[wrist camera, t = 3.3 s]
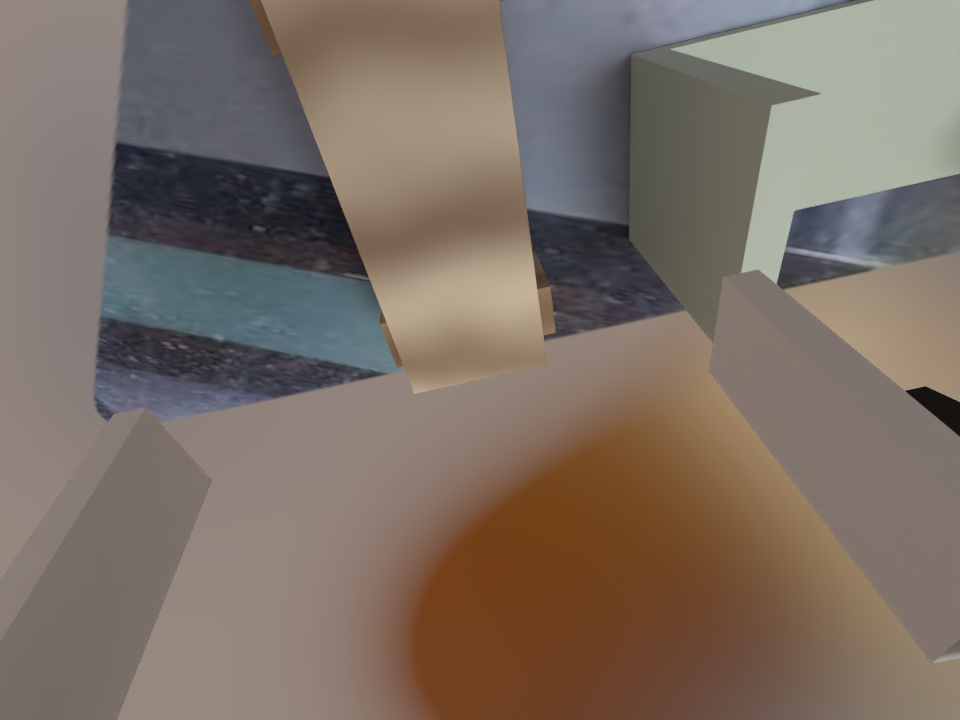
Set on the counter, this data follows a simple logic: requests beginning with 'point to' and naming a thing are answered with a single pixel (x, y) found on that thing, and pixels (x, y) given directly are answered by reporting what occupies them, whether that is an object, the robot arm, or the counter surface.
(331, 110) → the shelf board
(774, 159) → the shelf frame
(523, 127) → the counter surface
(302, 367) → the counter surface
